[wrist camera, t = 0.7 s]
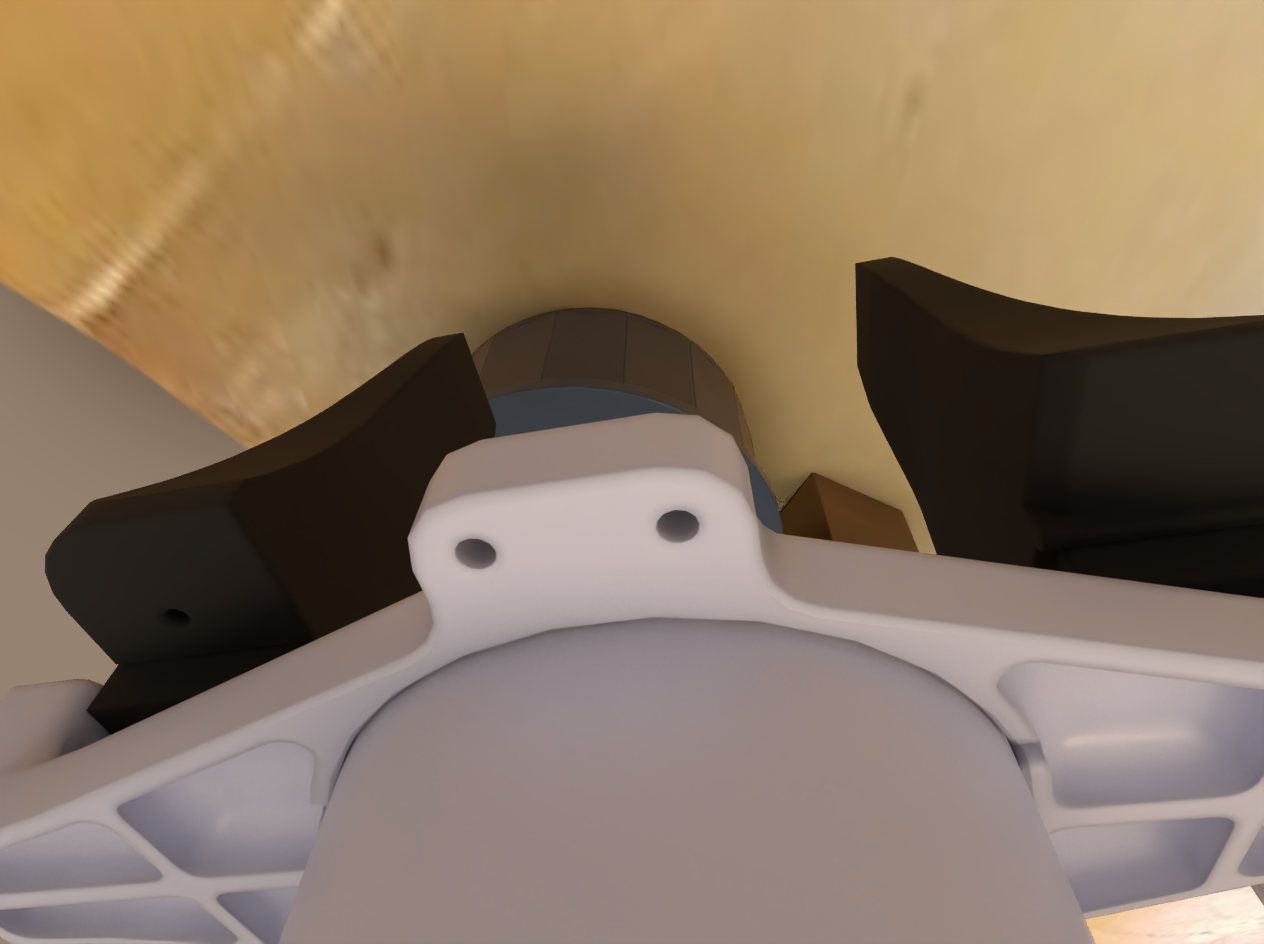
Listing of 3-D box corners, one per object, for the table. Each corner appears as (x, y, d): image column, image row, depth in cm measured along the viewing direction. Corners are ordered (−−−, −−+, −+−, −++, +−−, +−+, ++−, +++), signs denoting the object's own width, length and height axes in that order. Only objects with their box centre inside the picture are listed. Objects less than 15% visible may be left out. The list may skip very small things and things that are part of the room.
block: (902, 511, 29) (935, 589, 26) (838, 579, 31) (861, 660, 28) (812, 471, 28) (834, 548, 25) (753, 546, 30) (765, 624, 27)
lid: (856, 544, 24) (893, 654, 20) (588, 703, 29) (579, 813, 25) (580, 276, 19) (563, 360, 15) (313, 527, 24) (255, 634, 20)
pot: (809, 455, 28) (838, 556, 23) (595, 599, 32) (587, 705, 28) (592, 237, 23) (578, 312, 19) (379, 442, 28) (329, 541, 23)
